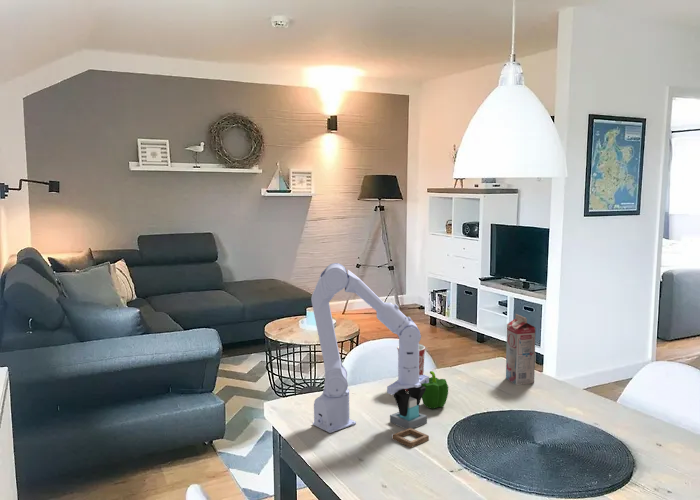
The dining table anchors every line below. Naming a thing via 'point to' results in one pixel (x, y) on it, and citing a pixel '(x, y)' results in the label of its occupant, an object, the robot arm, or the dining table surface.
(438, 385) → the bell pepper
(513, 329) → the juice carton
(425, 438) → the wooden square frame
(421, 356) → the mug
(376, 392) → the dining table surface
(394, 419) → the port
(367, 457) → the dining table surface
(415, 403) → the plug
